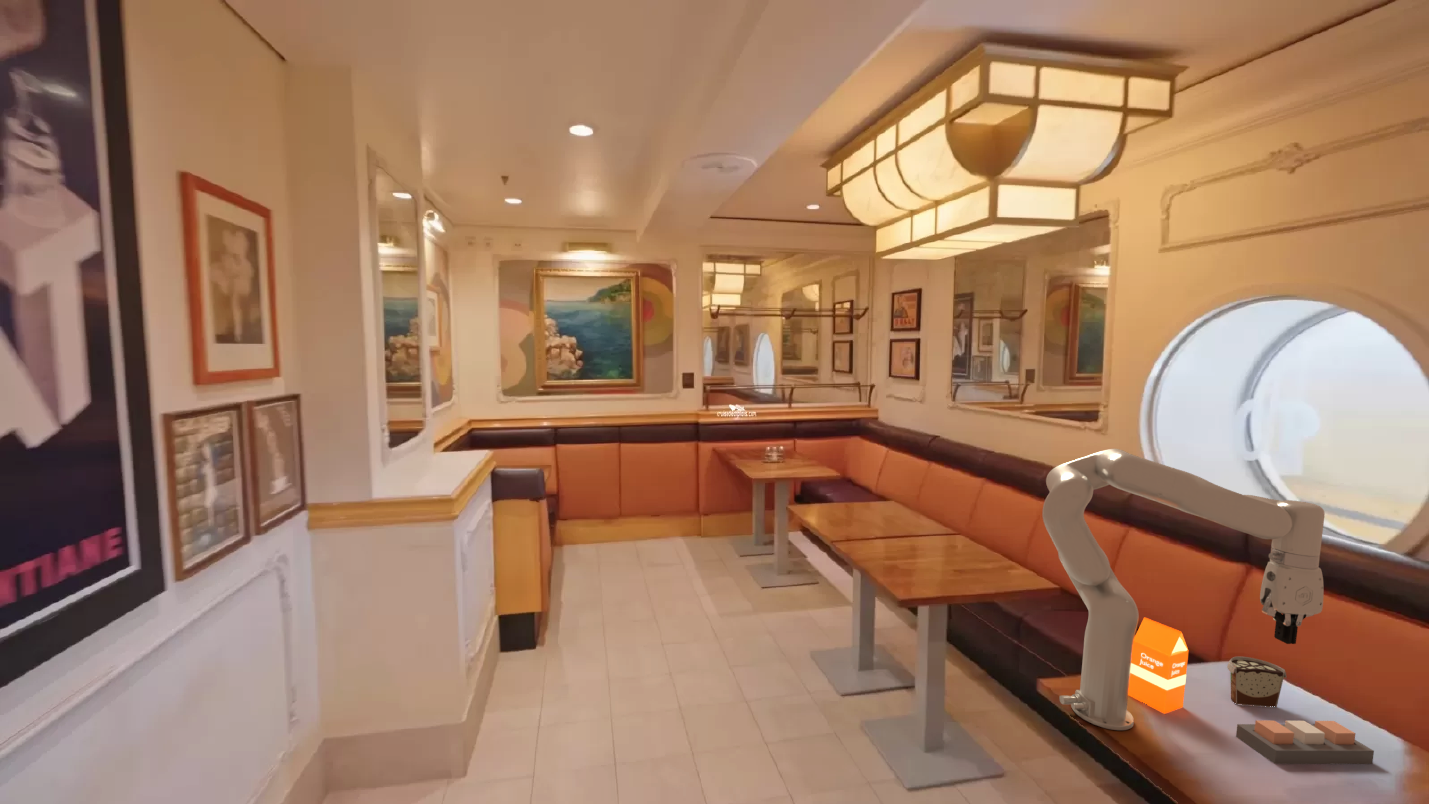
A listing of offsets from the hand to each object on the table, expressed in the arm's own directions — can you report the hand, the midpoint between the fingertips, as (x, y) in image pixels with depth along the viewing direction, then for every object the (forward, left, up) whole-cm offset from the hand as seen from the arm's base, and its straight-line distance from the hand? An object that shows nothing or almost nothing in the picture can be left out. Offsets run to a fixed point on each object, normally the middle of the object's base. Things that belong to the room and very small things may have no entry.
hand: (1284, 640), depth 130 cm
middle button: (+7, 0, -24) cm, 25 cm away
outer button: (+14, 0, -24) cm, 27 cm away
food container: (+13, +20, -25) cm, 34 cm away
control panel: (+7, 0, -25) cm, 26 cm away
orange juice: (-12, +19, -25) cm, 34 cm away
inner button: (0, 0, -24) cm, 24 cm away
